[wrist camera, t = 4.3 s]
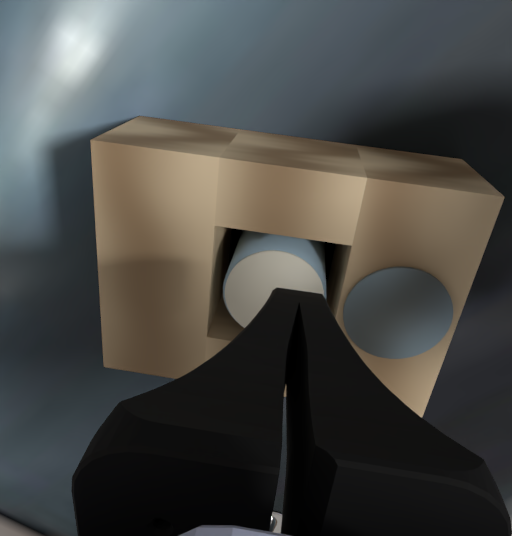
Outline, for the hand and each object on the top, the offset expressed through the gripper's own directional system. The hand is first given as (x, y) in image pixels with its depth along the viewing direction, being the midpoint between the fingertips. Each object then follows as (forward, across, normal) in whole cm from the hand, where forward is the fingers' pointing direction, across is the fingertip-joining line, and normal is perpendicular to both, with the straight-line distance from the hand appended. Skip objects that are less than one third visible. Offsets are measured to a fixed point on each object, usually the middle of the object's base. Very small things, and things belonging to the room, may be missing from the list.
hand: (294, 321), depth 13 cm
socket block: (+10, +1, +2) cm, 10 cm away
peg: (+10, +1, +2) cm, 10 cm away
